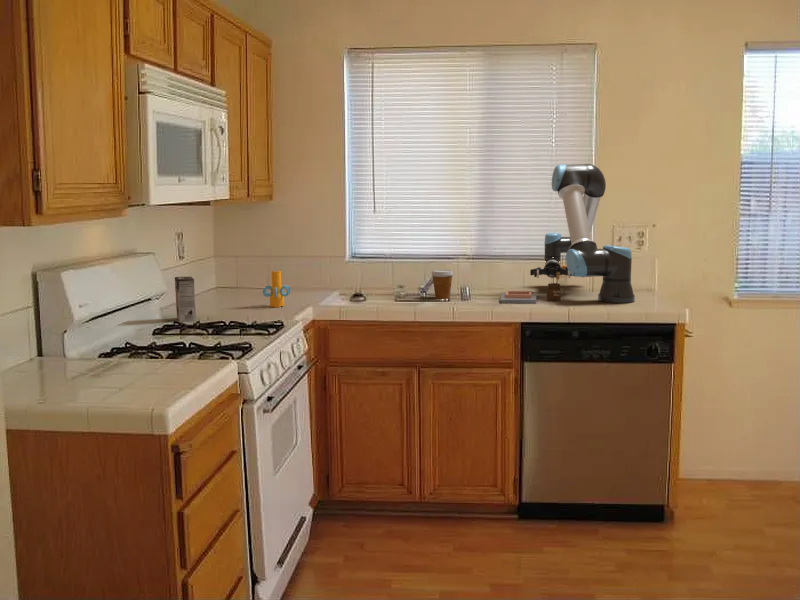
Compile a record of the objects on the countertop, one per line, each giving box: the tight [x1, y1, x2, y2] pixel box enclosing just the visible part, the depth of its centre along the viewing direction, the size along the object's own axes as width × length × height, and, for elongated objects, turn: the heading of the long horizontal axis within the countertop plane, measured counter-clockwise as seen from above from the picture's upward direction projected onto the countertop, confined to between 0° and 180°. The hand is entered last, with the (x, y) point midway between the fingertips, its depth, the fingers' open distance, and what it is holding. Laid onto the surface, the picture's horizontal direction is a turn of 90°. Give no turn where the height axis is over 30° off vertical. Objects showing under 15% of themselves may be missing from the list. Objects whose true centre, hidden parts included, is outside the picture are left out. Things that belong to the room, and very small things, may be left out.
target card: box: [499, 290, 537, 305], centre depth 376 cm, size 15×22×3 cm
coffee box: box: [174, 276, 197, 322], centre depth 334 cm, size 9×6×16 cm
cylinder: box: [262, 269, 291, 308], centre depth 364 cm, size 12×10×15 cm
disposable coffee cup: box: [431, 269, 454, 300], centre depth 384 cm, size 10×10×12 cm
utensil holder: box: [546, 272, 562, 302], centre depth 373 cm, size 6×6×12 cm
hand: (553, 274), depth 383 cm, fingers open, 13 cm apart
